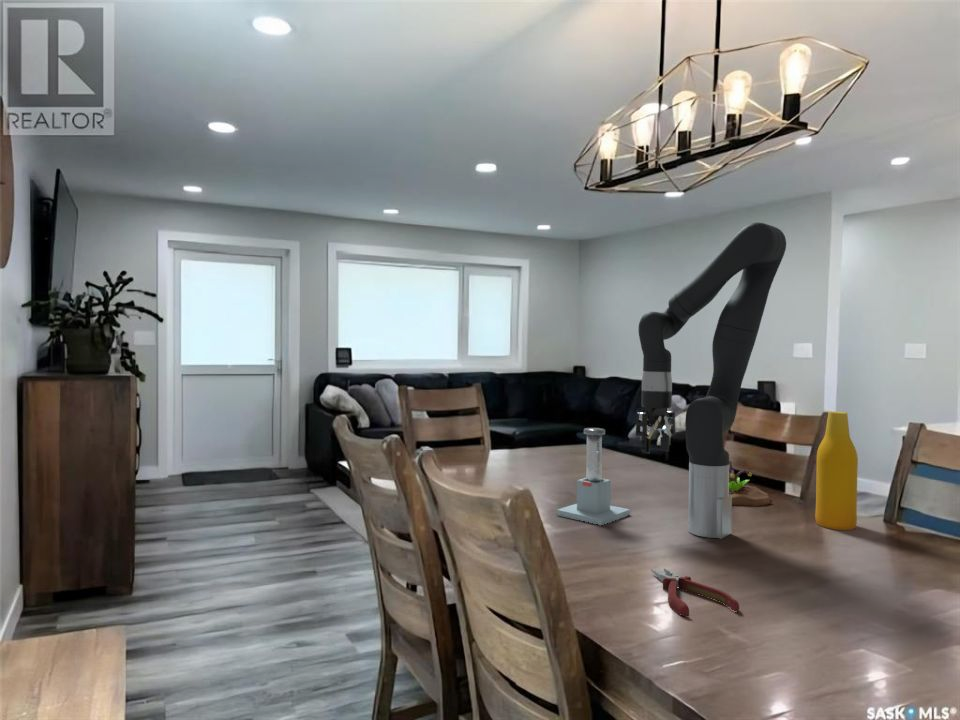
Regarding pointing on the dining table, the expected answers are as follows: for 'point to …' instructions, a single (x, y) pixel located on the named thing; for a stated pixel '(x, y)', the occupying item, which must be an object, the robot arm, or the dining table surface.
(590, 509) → the stand base
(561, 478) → the dining table surface
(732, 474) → the plant
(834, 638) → the dining table surface
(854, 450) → the beer bottle
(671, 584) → the pliers
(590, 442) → the column
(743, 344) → the robot arm
